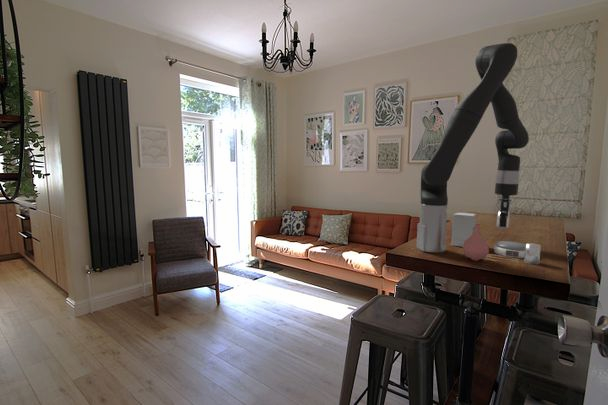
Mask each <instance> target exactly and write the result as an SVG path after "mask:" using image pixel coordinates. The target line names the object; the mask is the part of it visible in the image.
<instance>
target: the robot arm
mask: <svg viewBox="0 0 608 405" xmlns="http://www.w3.org/2000/svg"><path fill="white" fill-rule="evenodd" d="M517 58H518V48H517V46H516V45H515V44H514V43H510V42H508V43H507V42H505V43H498V44H497V43H496V44H491V45H486V46H483V47H482V48H481V49H480V50H479V51H478V52H477V54H476V57H475V60H474V61H475V67H476V71H477V73H478V76H479V77H480V82H478V84H477V85H476V86H475V87H474V88H473V89H472V90H471V91H470V92H469V93H468V94H467V95H466V96H465V97H463V98H462V99H461V100H460V102H459V103H458V104H457V105H456V106H455V108H454V110H453V112H452V114H451V116H450V118H449V120H448V122H447V125H446V127H445V129H444V132H443V136H442V138H441V139H442V140H441V141H440V144H439V146H438V149H437V150H436V151H435V153H434V154H433V156H432V158H431V159H430V161H429V162H427V163H426V164H425V165H423V167H422V169H421V174H420V208H419V209H420V212H419V213H420V214H419V222H418V223H417V226H416V227H417V228H416V234H417V235H416V249H418V250H420V251H421V252H427V253H444V252H446V240H447V239H446V238H447V218H448V216H447V215H448V205H449V204H448V203H449V202H448V201H449V200H448V199H449V198H448V182H449V180H450V178H451V177H452V176H451V175H452V173H453V170H454V168H455V166H456V165H457V161H458V159H459V157H460V155H461V153H462V151H463V150H464V148H465V147H466V145H467V144H468V143H469V140H470V139H471V138H472V136H473V135H474V132H475V131H476V129H477V128H478V126H479V124H480V122H481V121H482V119H483V117H484V114H485V113H486V111H487V109H488V107H489V105H490V104H491V107H492V110H493V113H494V114H493V116H494V118H495V123H496V125H497V128H499V129H502V130H500V131H499V132H498V133H497V134H496V136H495V140H494V141H495V148H496V152H497V157H498V158H497V159H498V162H497V172H496V175H495V176H496V177H495V186H494V187H495V188H494V194H496V195H501V198H499V199H498V204H499V208H498V211H500V224H499V226H500V227H506V222H507V217H508V212H510V209H511V204H512V199H510V196H517V195H518V192H519V183H520V168H521V167H520V165H521V157H520V156H519V155H516V154H512V153H510V152H509V150H514V149H516V150H517V149H523V148H525V147H526V146H527V145H528V144H529V140H530V139H529V138H530V137H529V133H528V131H527V129H526V127H525V126H524V124H523V122H522V121H521V118H520V117H519V112H518V107H517V103H516V101H515V98H514V97H513V95H512V94H511V93H510V92H509V90H508V89H507V88H506V86H505V85H504V81H505V80H506V79H507V77H508V75H509V74H510V73H511V71H512V69H513V67H514V66H515V63H516V61H517ZM502 211H504V212H506V213H502ZM500 227H499V228H500Z"/></svg>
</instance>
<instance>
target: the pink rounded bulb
mask: <svg viewBox="0 0 608 405" xmlns="http://www.w3.org/2000/svg"><path fill="white" fill-rule="evenodd" d="M480 226H481V225H480V224H478V223H476V224H475V226H474V232H473V234H472V235H471V237H470V238H468V239H467V240H466V241H465V242H464V245H463V247H462V251H463V255H464V256H465V257H467V258H469V259H470V260H471V261H475V262H478V261H479V260H483V259H486V258H487V256H488V254H489V252H490V250H489V244H488V243H487V241H486V240H485V239H484V238H483V236H482V234H481V232H480V229H481V227H480Z"/></svg>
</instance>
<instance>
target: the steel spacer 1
mask: <svg viewBox="0 0 608 405" xmlns="http://www.w3.org/2000/svg"><path fill="white" fill-rule="evenodd" d="M502 213H506V212H504V211H502ZM510 215H511V213H510V211H509V212H508V217H507V222H506V227H500V226H499V224H500V211H499V210H498V211H497V215H496V216H497V217H496V228H501V229H508V228H509V225H510Z"/></svg>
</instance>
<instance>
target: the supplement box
mask: <svg viewBox="0 0 608 405" xmlns="http://www.w3.org/2000/svg"><path fill="white" fill-rule="evenodd" d="M452 216H453V217H452V226H451V227H452V229H451V246H456V247H461V248H463V245H464V242H465V241H466V240H467V239H468V238H470V237H471V235H472V234H473V232H474V226H475V224H477V214H476V213H468V212H467V213H466V212H456V213H454V214H453V215H452Z"/></svg>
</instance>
